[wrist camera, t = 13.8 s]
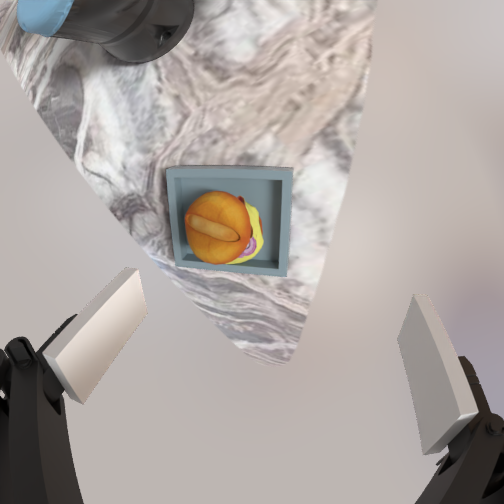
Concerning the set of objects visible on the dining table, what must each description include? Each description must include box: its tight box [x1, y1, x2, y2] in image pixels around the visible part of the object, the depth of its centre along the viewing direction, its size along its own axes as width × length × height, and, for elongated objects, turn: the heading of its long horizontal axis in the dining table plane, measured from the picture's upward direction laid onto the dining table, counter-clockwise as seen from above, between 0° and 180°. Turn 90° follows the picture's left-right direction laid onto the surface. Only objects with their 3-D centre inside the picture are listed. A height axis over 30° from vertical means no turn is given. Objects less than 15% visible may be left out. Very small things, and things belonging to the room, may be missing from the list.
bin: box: [166, 165, 293, 277], centre depth 41 cm, size 15×17×3 cm
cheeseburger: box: [185, 191, 264, 265], centre depth 39 cm, size 10×11×10 cm
